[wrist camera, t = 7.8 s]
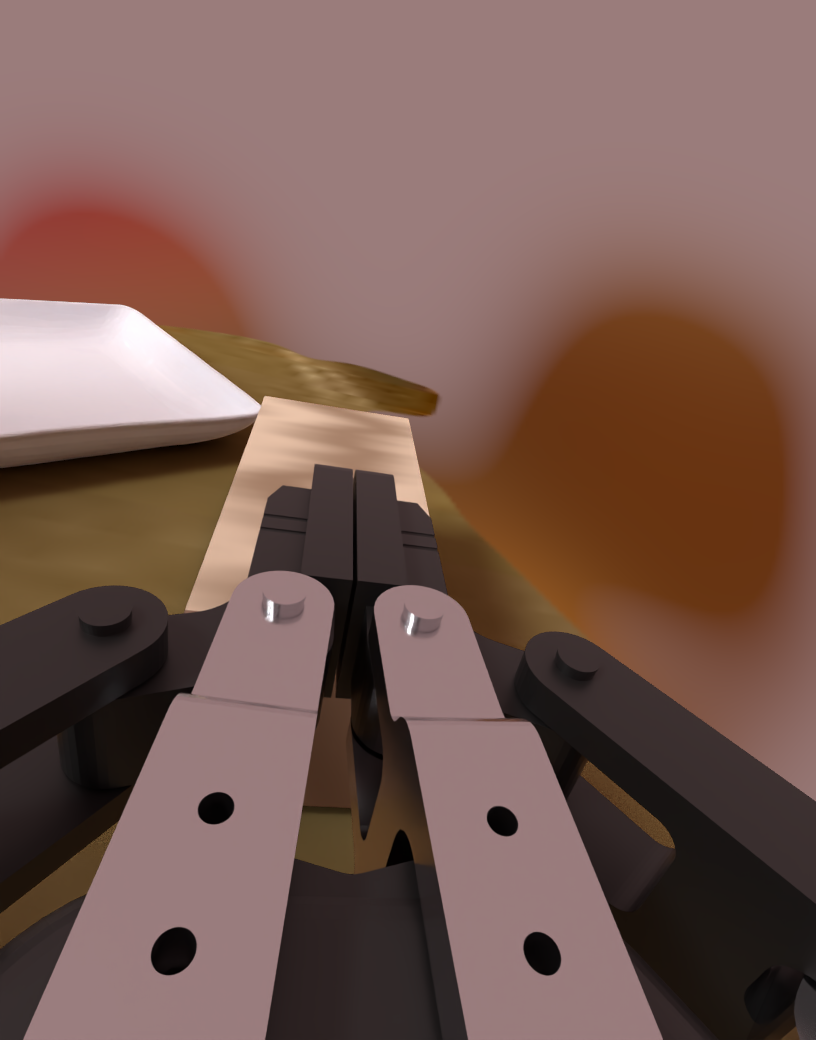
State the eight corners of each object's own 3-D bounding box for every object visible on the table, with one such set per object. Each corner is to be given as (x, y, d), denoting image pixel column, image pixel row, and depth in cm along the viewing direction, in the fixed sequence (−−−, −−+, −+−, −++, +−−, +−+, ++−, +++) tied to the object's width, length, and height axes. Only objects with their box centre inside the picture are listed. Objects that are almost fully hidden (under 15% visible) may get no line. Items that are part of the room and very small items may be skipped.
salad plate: (270, 461, 35) (275, 405, 33) (-267, 549, 21) (-305, 461, 19) (131, 344, 47) (129, 299, 45) (-264, 352, 33) (-288, 288, 32)
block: (180, 622, 13) (264, 395, 24) (178, 799, 15) (255, 520, 27) (457, 648, 14) (408, 418, 25) (406, 810, 16) (383, 536, 28)
